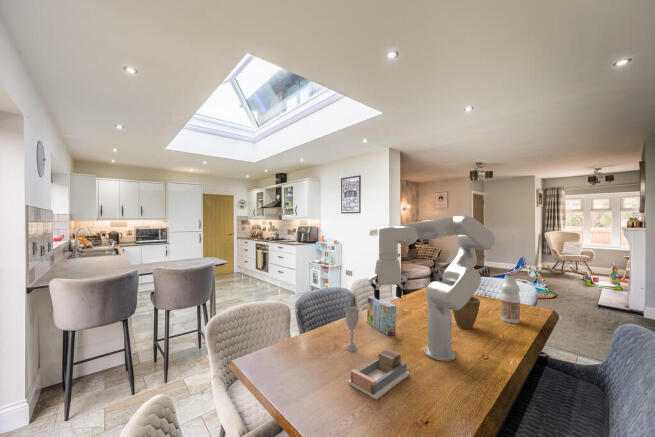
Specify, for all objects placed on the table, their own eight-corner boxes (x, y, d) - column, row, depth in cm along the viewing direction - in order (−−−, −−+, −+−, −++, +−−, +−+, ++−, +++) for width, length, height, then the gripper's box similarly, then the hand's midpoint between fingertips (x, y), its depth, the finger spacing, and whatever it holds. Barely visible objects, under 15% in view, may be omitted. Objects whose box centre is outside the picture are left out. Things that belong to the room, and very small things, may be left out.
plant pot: (477, 334, 142) (477, 303, 142) (447, 327, 151) (447, 298, 151) (482, 326, 154) (482, 297, 154) (453, 320, 163) (453, 293, 163)
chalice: (341, 346, 127) (341, 307, 128) (354, 344, 130) (355, 305, 130) (348, 353, 121) (348, 312, 121) (362, 350, 123) (362, 310, 123)
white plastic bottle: (498, 320, 163) (499, 273, 163) (503, 317, 170) (503, 271, 170) (517, 325, 156) (517, 275, 157) (521, 321, 163) (521, 273, 163)
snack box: (396, 335, 141) (396, 305, 141) (387, 336, 139) (387, 306, 139) (374, 321, 161) (375, 295, 161) (366, 322, 159) (366, 296, 159)
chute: (382, 362, 113) (382, 350, 113) (408, 374, 104) (409, 361, 104) (348, 383, 98) (348, 369, 98) (376, 399, 90) (376, 383, 90)
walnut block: (387, 363, 110) (387, 348, 110) (400, 369, 106) (400, 354, 106) (378, 369, 106) (378, 353, 106) (391, 375, 101) (392, 359, 101)
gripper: (402, 255, 119) (402, 294, 119) (365, 256, 115) (364, 297, 115) (411, 257, 112) (411, 299, 112) (372, 258, 107) (372, 302, 107)
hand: (388, 298), depth 113 cm, fingers open, 9 cm apart
